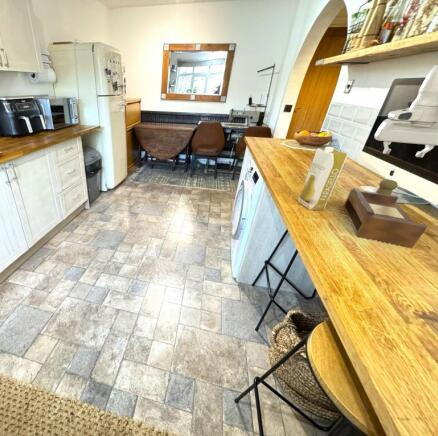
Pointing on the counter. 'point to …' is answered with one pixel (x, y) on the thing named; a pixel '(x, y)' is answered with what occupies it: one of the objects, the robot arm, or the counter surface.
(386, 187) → the pepper mill
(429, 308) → the counter surface
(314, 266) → the counter surface
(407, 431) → the counter surface
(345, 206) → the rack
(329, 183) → the juice carton
